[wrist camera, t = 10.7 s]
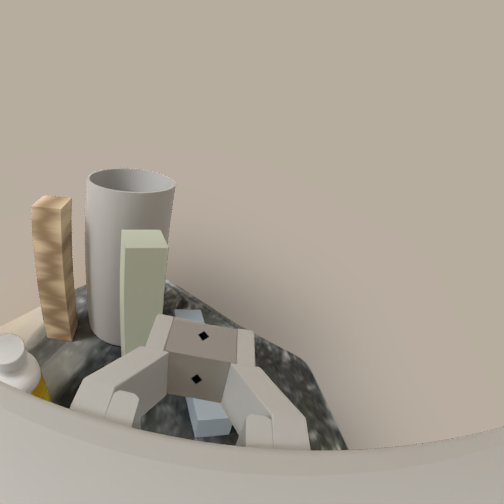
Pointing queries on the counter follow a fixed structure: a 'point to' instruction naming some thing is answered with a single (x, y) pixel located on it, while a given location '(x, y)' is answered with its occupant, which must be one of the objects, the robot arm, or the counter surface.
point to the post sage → (141, 285)
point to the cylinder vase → (118, 235)
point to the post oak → (55, 265)
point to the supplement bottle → (20, 367)
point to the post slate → (201, 411)
